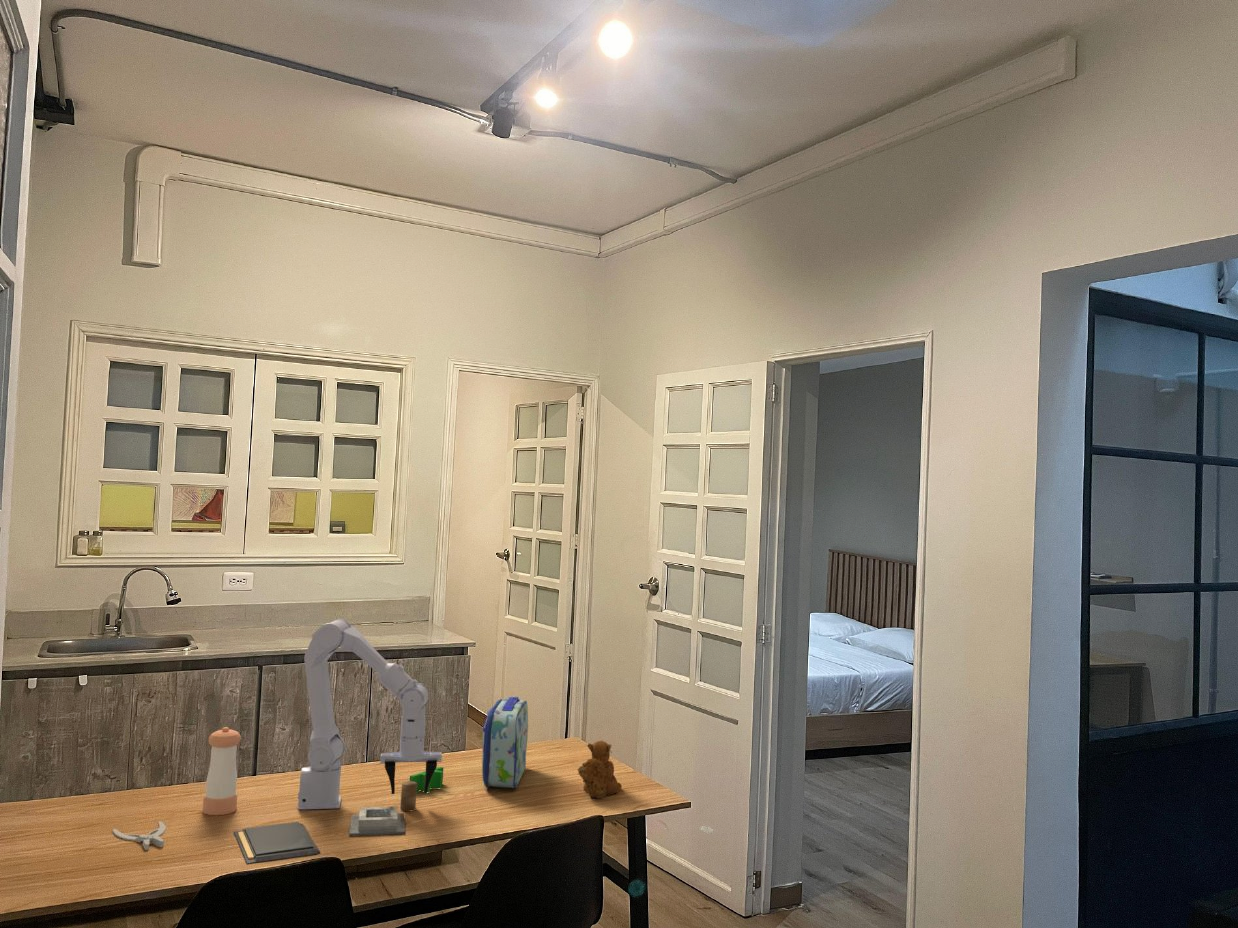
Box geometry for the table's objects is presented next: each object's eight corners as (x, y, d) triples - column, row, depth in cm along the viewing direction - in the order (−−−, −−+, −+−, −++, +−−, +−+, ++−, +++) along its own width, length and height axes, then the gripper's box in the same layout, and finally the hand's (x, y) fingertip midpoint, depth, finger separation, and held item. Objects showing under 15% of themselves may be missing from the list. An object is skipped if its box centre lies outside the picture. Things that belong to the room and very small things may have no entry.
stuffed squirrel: (622, 788, 242) (625, 739, 243) (609, 804, 229) (612, 752, 230) (587, 783, 245) (590, 734, 246) (572, 799, 231) (574, 747, 232)
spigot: (400, 811, 216) (401, 785, 216) (400, 806, 219) (401, 781, 220) (415, 810, 217) (417, 785, 217) (415, 805, 220) (416, 780, 220)
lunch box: (491, 763, 259) (495, 690, 260) (528, 765, 259) (532, 692, 260) (476, 792, 233) (480, 710, 234) (517, 794, 233) (522, 713, 234)
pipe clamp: (419, 796, 228) (420, 778, 228) (408, 793, 230) (409, 775, 230) (449, 786, 237) (450, 768, 237) (439, 783, 239) (440, 765, 239)
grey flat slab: (321, 848, 188) (243, 858, 180) (321, 857, 188) (242, 868, 180) (305, 817, 205) (233, 825, 198) (304, 825, 205) (232, 834, 198)
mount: (349, 836, 198) (350, 823, 198) (351, 817, 210) (352, 805, 210) (404, 833, 201) (405, 821, 201) (404, 815, 213) (404, 803, 213)
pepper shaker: (195, 810, 209) (201, 727, 210) (222, 802, 215) (228, 721, 216) (216, 817, 205) (222, 732, 206) (243, 808, 212) (249, 726, 213)
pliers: (161, 816, 201) (180, 837, 189) (161, 824, 201) (180, 845, 189) (112, 825, 194) (128, 847, 183) (111, 832, 194) (128, 855, 183)
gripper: (381, 740, 213) (378, 798, 213) (443, 739, 217) (440, 796, 216) (381, 732, 220) (378, 789, 219) (442, 731, 224) (438, 787, 223)
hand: (409, 792), depth 218 cm, fingers open, 7 cm apart
